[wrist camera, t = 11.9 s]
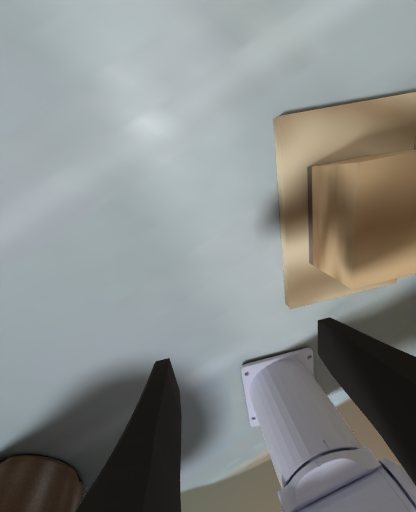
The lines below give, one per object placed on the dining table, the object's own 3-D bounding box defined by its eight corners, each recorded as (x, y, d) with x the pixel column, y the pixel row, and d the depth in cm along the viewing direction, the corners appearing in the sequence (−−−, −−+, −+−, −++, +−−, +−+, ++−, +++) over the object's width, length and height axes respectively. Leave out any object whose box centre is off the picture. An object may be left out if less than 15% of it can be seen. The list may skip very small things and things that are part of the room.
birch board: (387, 278, 23) (396, 282, 22) (285, 303, 22) (290, 309, 21) (408, 95, 17) (422, 90, 16) (273, 119, 16) (279, 115, 15)
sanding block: (361, 251, 20) (418, 272, 15) (309, 263, 20) (351, 289, 15) (367, 155, 17) (439, 146, 13) (307, 167, 17) (358, 162, 12)
